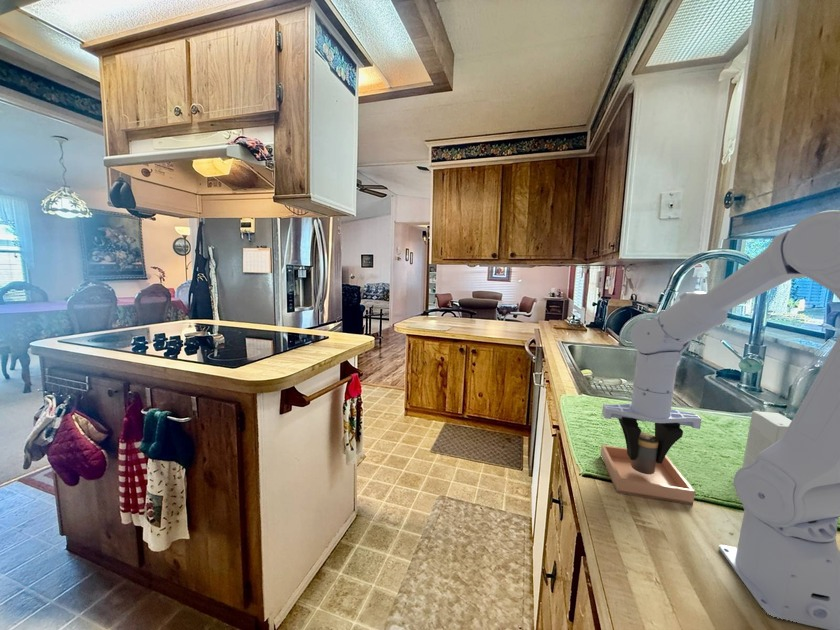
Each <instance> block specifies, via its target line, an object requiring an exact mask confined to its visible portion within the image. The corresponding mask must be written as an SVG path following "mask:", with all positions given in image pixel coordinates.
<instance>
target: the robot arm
mask: <svg viewBox="0 0 840 630" xmlns="http://www.w3.org/2000/svg"><path fill="white" fill-rule="evenodd" d="M801 278H808V279H810V280H812V281H813V282H815V283H816V284H818V285H820V286H822V287H824V288H825V289H827V290H829V291H831V292H832V293H833V294H834V295H835V297H836V298H837V299H839V301H840V210H838V209H837V210H836V209H835V210H834V209H833V210H825V211H821V212H817V213H813V214H811V215H809V216H807V217H805V218H804V219H802V220H800V221H799V222H797V223H796V224H795V225H794V226H793V227H792V228H791V229H789V230H785V231H784V232H781V233H780V234H778V235H776V236H775V237H773V239H772V240H771V242H770V243H769V245H768V247H767V248H766V249H764V250H763V251H761V252H760V253H759V254H758V255H756V256H755V257H754V258H752V259H751V260H750V261H748V262H747V263H745V264H744V265H743V266H741V267H739V268H738V269H737V270H736V271H734V272H733V273H732V274H730V275H729V276H727V277H726V278H725V279H723V280H722V281H721V282H719V283H718V284H717V285H715V286H714V287H713V288H711V289H710V290H708V291H700V290H699V291H698V290H697V291H692V292H684V293H682V294H681V295H679V296H678V298H679V300H678V301H676V302H675V303H674V304H672V305H670V307H668V308H667V309H662V310H659V311H658V312H657V315H656V316H655V317H653V318H639V319H638V320H637V321H636V322H635V323H634V325H632V327H631V331H630V341H631V344H632V346H633V347H634V348H635V349H636V360H635V366H634V367H635V368H634V376H633V384H632V385H633V386H632V395H631V403H622V404H621V403H619V404H616V403H615V404H608V403H607V404H605V403H603V404H602V412H601V414H602V416H603V417H604V419H607V420H612V419H617V420H618V422H619V423H620V426H621V429H622V432H623V436H624V439H625V445H626V448H627V454H628V456H629V458H630V459H631V460H635V459H636V453H637V443H638V439H639V436H640V433H641V432H642V429H641V427H639V421H640V422H649V423H653V424H654V436H655V437H656V438H658V440H659V444H658V450H657V458H656V462H657V463H659V464H662V462H663V459H664V457H665V456H666V455H667V454H668V452H669V450H670V449H671V448H672V447H673V446H674V445H675V443H677V442H678V441H679V440H680V439H682V438H683V434H684V430H682V428H681V426H685V427H686V426H687V427H690V428H692V429H698V430H700V429H701V424H702V418H701V417H700V416H699V415H698V414H697V413H694V412H689V411H687V412H686V411H682V410H677V409H673V408H672V405H673V397H674V389H675V383H676V374H677V367H678V363H679V362H680V361H681V360H682V354H683V353H684V352H685V351H686V350H687V349H688V347H689V346H690V344H691V341H692V340H694V339H696V338H699V337H700V336H701V335H705V333H708V332H709V331H711V330H713V329H715V328H717V327H719V326H720V325H722V324H724V323H725V322H726V321H727V319H728V311H729V310H731V309H733V308H735V307H738V306H739V305H741V304H744V303H746V302H747V301H749V300H752V299H753V298H756V297H758V296H760V295H761V294H764V293H766V292H768V291H771V290H772V289H773V288H776V287H778V286H779V285H782V284H784V283H786V282H788V281H790V280H794V279H801ZM791 420H792V421H791V423H790V425H789V427H788V428H787V430H786V432H785V434H784V435H783V437H782V438H781V439H780V440H779V441H777V442H776V443H774V444H773V445H771V446H769V447H768V448H766V449H765V450H763V451H762V452H760V453H759V454H758V455H757V457H756V459H755V460H754V462H753V463H752V464H750V465H748V466H745V467H740V468H739V469H738V470H737V471H736V473H735V474H734V477H733V486H734V490H735V493H736V495H737V497H738V499H739V501H740V502H741V504H742V505H743V506H742V508H743V517H742V521H741V526H740V532H739V536H738V543H737V547H736V546H733V545H726V544H719V545H718V549H719V550H720V553H722V555H723V556H724V557H725V558H726V560H727V561H728V564H729V565H731V567H732V569H733V570H734V571H735V573H736V574H737V575H738V576H739V578H740V580H741V581H742V583H744V586H746V588H747V589H748V591H749V592H750V594H751V595H752V596H753V598H754V599H755V600H756V602H757V603H758V604H759V606H760V607H761V609H762V608H763V609H764V610H765V611H766V612H767V613H768V614H770V615H772V616H773V617H772V618H774V616H775V617H777V618H776V619H779V618H781V619H780V620H783V619H786V620H785V621H788V620H790V621H789V622H792V621H793V623H796V622H797V623H798V624H802V625H806V626H811V627H815V628H820V629H824V630H840V549H839V547H838V543H837V539H836V537H837V535H838V534H837V533H838V524H839V523H838V522H839V520H840V519H839V518H840V335H839V336H838V337H837V339H836V341H835V343H834V345H833V347H832V348H831V349H830V351H829V353H828V355H827V357H826V359H825V361H824V362H823V365H822V366H821V368H820V370H819V371H818V373H817V375H816V377H815V378H814V381H813V382H812V384H811V386H810V387H809V389H808V391H807V393H806V394H805V397H803V400H802V402H801V403H800V405H799V407H798V409H797V411H796V412H795V414H794V416H793V418H792V419H791ZM763 609H762V610H763ZM764 610H763V611H764ZM765 611H764V612H765ZM766 612H765V613H766ZM768 614H767V615H768ZM797 623H796V624H797Z"/></svg>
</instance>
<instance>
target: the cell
mask: <svg viewBox="0 0 840 630" xmlns="http://www.w3.org/2000/svg"><path fill="white" fill-rule="evenodd" d="M658 444H659V440H658V438H656V437H655V435H653V434H650V433H647V432H643V431H641V433H640V436H639V439H638V443H637V453H636V459H635V460H631V467H632V468H633V469H634V470H636V471H638V472H640V473H643V474H654V473H655V466H656V458H657V450H658Z"/></svg>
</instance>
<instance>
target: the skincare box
mask: <svg viewBox="0 0 840 630" xmlns="http://www.w3.org/2000/svg"><path fill="white" fill-rule="evenodd" d="M791 421H792V419H790V418H788V417H786V416H785V415H783V414H780V413H779V412H767V411H757V410H752V412H751V417H750V423H749V429H748V434H747V440H746V445H745V451H744V455H743V460H742V462H743V463H742V467H745V466H748V465H750V464H752V463H753V462H754V460H755V459H756V457H757V455H758V454H759V453H760V452H762V451H763V450H765V449H766V448H768V447H769V446H771V445H773V444H774V443H776V442H777V441H779V440H780V439H781V438H782V437H783V435H784V434H785V432H786V430H787V428H788V427H789V425H790V423H791ZM742 467H741V468H742Z"/></svg>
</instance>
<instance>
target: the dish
mask: <svg viewBox="0 0 840 630" xmlns="http://www.w3.org/2000/svg"><path fill="white" fill-rule="evenodd" d="M600 449H601V450H600V457H601V456H602V458H603V460H604V463H605V465H606V467H605V469H606V468H607V469H606V471H608V472H607V474H608V475H609V478H610V480H611V483H612V484H613V486H614V489H615V490H616V493H617V494H620V495H621V494H622V495H627V496H635V497H640V498H647V499H652V500H659V501H665V502H671V503H672V502H673V503H677V504H683V505H689V506H693V505H694V501H695V494H696V490H694V488H693V487H692V486H691V484H690V483H689V481H688V480H687V479H686V478H685V477H684V476H683V474H682V473H681V472H680V470H679V469H678V468H677V467H676V466H675V464H674V463H673V461H671V459H670V458H669V457H668V456H667V454H666V456H665V457H664V459H663V462H662V464H659V463H657V462H656V466H655V473H654V474H643V473H640V472H638V471H636V470H634V469H633V468H632V467H631V459H630V458H629V456H628V454H627V447H620V446H611V445H604V444H603V445H602V444H601V448H600ZM602 458H601V459H602ZM604 463H603V464H604ZM605 465H604V466H605Z"/></svg>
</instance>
